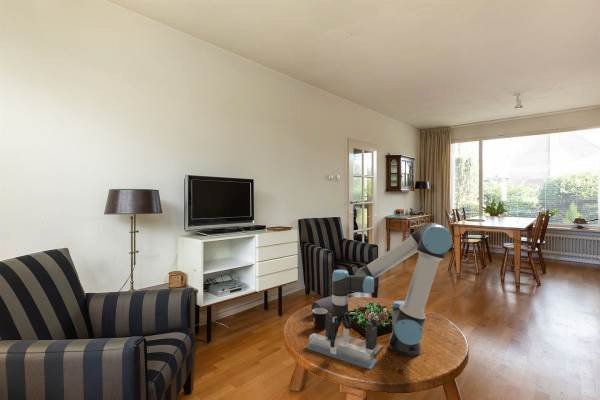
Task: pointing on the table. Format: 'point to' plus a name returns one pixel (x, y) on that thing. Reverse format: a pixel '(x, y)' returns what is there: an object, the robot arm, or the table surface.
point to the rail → (343, 349)
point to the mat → (342, 358)
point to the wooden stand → (368, 344)
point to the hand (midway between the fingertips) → (339, 347)
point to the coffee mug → (319, 319)
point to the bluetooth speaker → (323, 304)
